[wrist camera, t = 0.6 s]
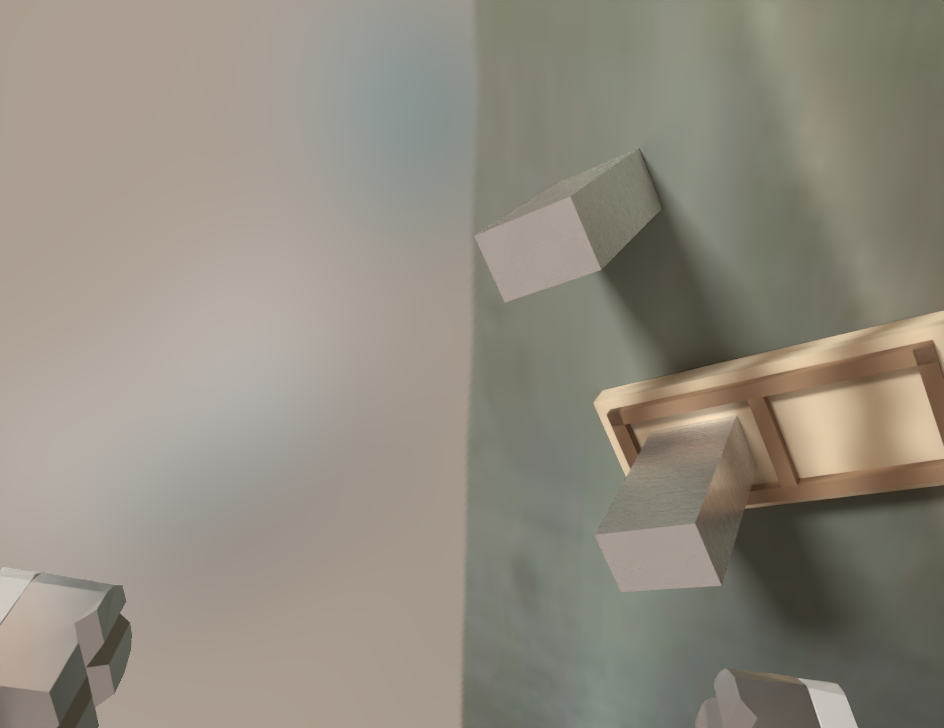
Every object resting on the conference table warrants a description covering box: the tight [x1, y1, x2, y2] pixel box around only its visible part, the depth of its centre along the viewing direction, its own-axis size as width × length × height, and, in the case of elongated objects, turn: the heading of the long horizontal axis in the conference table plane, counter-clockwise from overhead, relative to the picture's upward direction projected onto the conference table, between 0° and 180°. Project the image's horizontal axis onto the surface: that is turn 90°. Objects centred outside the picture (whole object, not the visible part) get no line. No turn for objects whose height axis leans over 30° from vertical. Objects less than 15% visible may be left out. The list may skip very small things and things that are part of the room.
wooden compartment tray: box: [594, 311, 944, 509], centre depth 49 cm, size 22×10×3 cm, turn 117°
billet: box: [595, 415, 757, 592], centre depth 47 cm, size 6×4×12 cm, turn 117°
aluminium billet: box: [475, 148, 662, 302], centre depth 45 cm, size 6×4×12 cm, turn 117°
